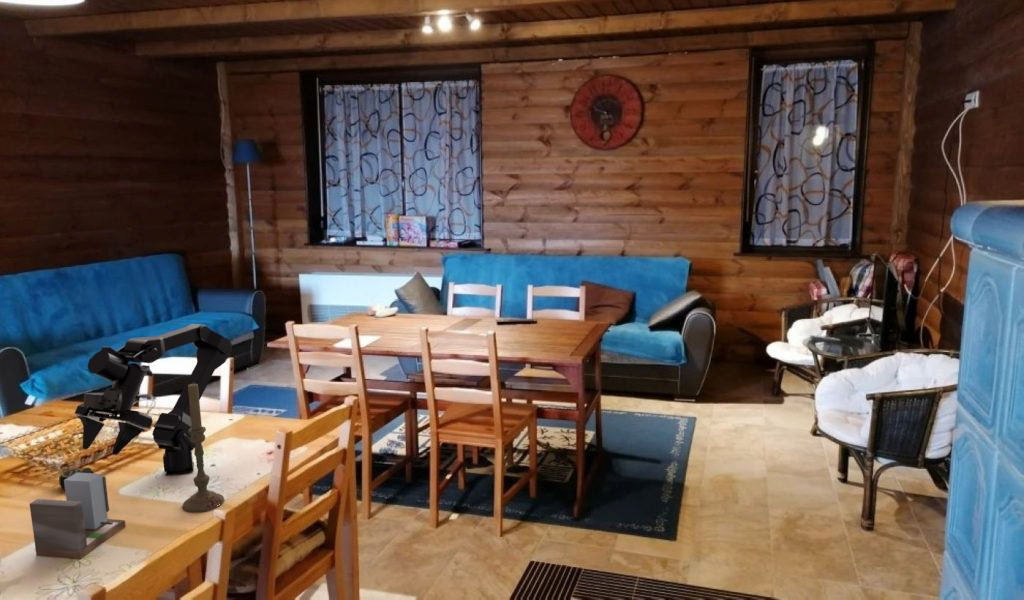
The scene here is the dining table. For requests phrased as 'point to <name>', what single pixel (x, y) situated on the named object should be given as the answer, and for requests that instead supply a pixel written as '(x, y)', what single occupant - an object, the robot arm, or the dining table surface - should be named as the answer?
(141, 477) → the dining table surface
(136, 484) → the dining table surface
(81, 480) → the block
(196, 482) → the candlestick holder
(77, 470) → the tape measure
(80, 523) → the base
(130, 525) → the dining table surface
